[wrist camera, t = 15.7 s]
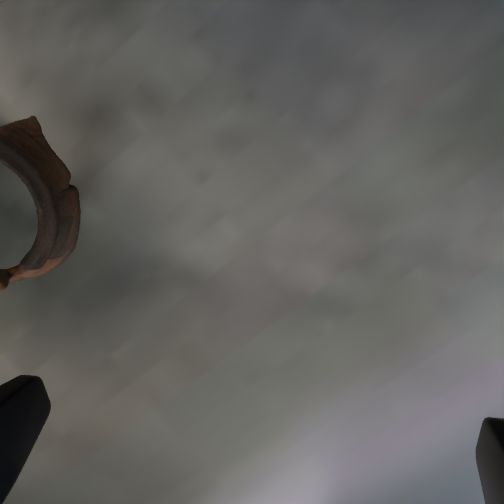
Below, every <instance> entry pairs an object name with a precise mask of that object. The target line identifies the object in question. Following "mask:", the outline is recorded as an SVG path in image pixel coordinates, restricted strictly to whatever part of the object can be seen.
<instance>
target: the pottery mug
mask: <svg viewBox="0 0 504 504" xmlns="http://www.w3.org/2000/svg"><path fill="white" fill-rule="evenodd" d="M0 161H1V162H2V163H3V164H4V165H6V166H7V167H8V168H9V169H11V170H12V171H13V172H14V173H15V174H16V175H17V176H18V177H19V178H20V179H21V180H22V181H23V182H24V183H25V184H26V186H27V188H28V189H29V191H30V193H31V195H32V197H33V199H34V202H35V205H36V207H37V216H38V232H37V236H36V239H35V241H34V244H33V246H32V248H31V249H30V251H29V252H28V253H27V254H26V255H25V257H24V258H23V259H22V260H21V262H20V264H19V265H17V266H15V267H12V268H9V269H0V290H3V289H5V288H6V287H7V286H8V284H9V283H12V282H16V281H20V280H22V279H24V278H30V277H38V276H41V275H43V274H45V273H47V272H48V271H50V270H52V269H53V268H55V267H56V266H58V265H59V264H60V263H61V262H62V261H63V260H65V259H66V258H67V257H68V256H69V255H70V254H71V252H72V251H73V250H74V248H75V244H76V241H77V238H78V232H79V225H80V201H79V192H78V189H77V188H76V187H75V186H73V185H70V184H69V182H70V179H71V174H70V172H69V170H68V169H67V167H66V166H65V164H64V163H63V161H62V160H61V159H60V158H59V157H58V156H57V155H56V153H55V152H54V151H53V150H52V149H51V147H50V146H49V144H48V142H47V141H46V139H45V137H44V135H43V133H42V129H41V126H40V124H39V122H38V120H37V118H36V117H35V116H31V117H30V118H28V119H23V120H19V121H15V122H13V123H10V124H7V125H4V126H1V127H0Z"/></svg>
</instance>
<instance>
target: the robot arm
mask: <svg viewBox="0 0 504 504" xmlns="http://www.w3.org/2000/svg"><path fill="white" fill-rule="evenodd" d="M50 410H51V403H50V400H49V397H48V394H47V392H46V389H45V386H44V383H43V381H42V379H41V378H40V377H38V376H31V375H20V376H18V377H16V378H14V379H12V380H10V381H8V382H6V383H4V384H2V385H1V386H0V504H3V502H4V501H5V499H6V498H7V496H8V494H9V492H10V491H11V489H12V487H13V486H14V484H15V482H16V480H17V478H18V476H19V474H20V472H21V471H22V468H23V466H24V464H25V462H26V460H27V458H28V456H29V454H30V452H31V450H32V448H33V446H34V444H35V442H36V440H37V438H38V436H39V434H40V432H41V430H42V428H43V426H44V424H45V422H46V420H47V418H48V416H49V413H50ZM476 462H477V467H478V472H479V476H480V481H481V486H482V490H483V495H484V500H485V504H504V419H503V418H492V417H487V418H485V419H484V420H483V422H482V426H481V430H480V434H479V438H478V442H477V446H476Z"/></svg>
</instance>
